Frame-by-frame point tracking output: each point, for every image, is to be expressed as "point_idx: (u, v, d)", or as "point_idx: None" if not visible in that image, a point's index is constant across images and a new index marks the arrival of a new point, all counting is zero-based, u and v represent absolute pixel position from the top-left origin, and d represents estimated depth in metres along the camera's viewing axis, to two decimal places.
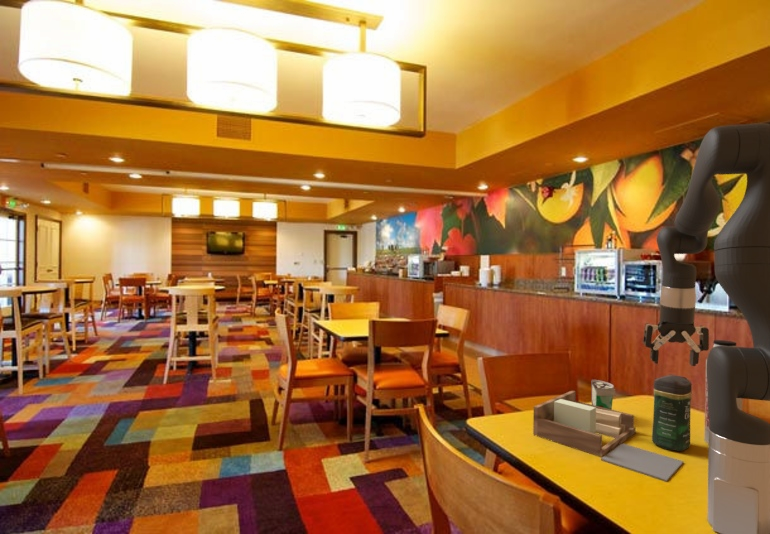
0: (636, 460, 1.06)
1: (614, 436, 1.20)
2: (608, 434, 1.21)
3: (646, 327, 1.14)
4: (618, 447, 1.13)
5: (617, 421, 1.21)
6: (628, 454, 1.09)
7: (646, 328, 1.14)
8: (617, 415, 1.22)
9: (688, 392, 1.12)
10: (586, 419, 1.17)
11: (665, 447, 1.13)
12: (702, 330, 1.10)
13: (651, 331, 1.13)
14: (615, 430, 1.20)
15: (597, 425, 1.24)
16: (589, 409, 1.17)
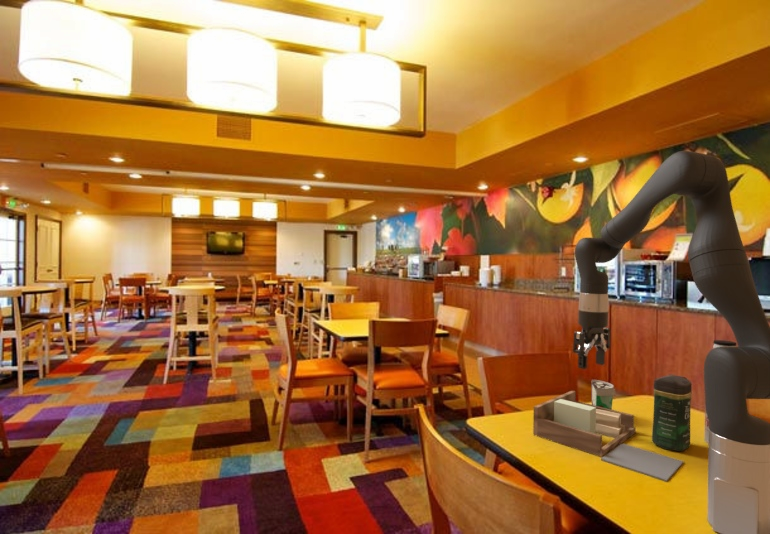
0: (636, 460, 1.06)
1: (614, 436, 1.20)
2: (608, 434, 1.21)
3: (578, 335, 1.17)
4: (618, 447, 1.13)
5: (617, 422, 1.21)
6: (628, 454, 1.09)
7: (579, 336, 1.17)
8: (617, 416, 1.22)
9: (688, 392, 1.12)
10: (586, 419, 1.17)
11: (665, 447, 1.13)
12: (606, 331, 1.23)
13: (584, 338, 1.17)
14: (615, 431, 1.20)
15: (597, 425, 1.23)
16: (589, 409, 1.17)
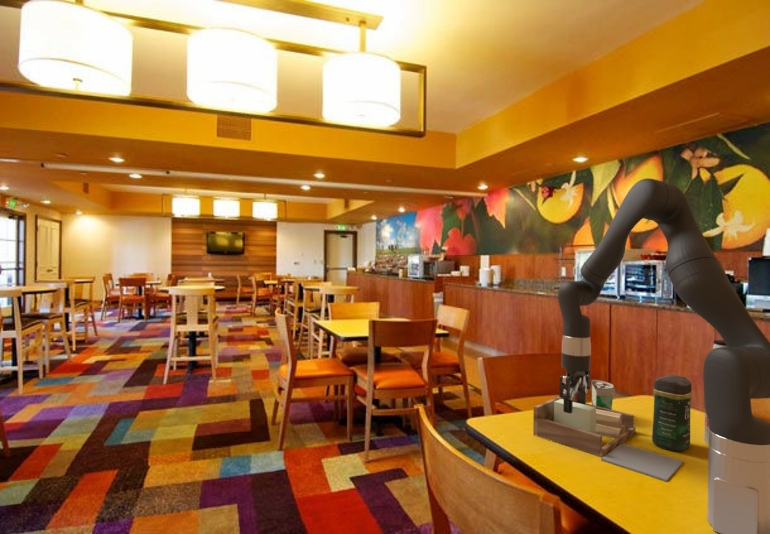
0: (636, 460, 1.06)
1: (614, 437, 1.20)
2: (608, 435, 1.21)
3: (565, 379, 1.16)
4: (618, 447, 1.13)
5: (618, 422, 1.20)
6: (628, 454, 1.09)
7: (565, 380, 1.16)
8: (617, 416, 1.21)
9: (688, 392, 1.12)
10: (586, 419, 1.17)
11: (665, 447, 1.13)
12: (586, 372, 1.24)
13: (570, 382, 1.16)
14: (616, 431, 1.20)
15: (597, 426, 1.23)
16: (589, 409, 1.17)
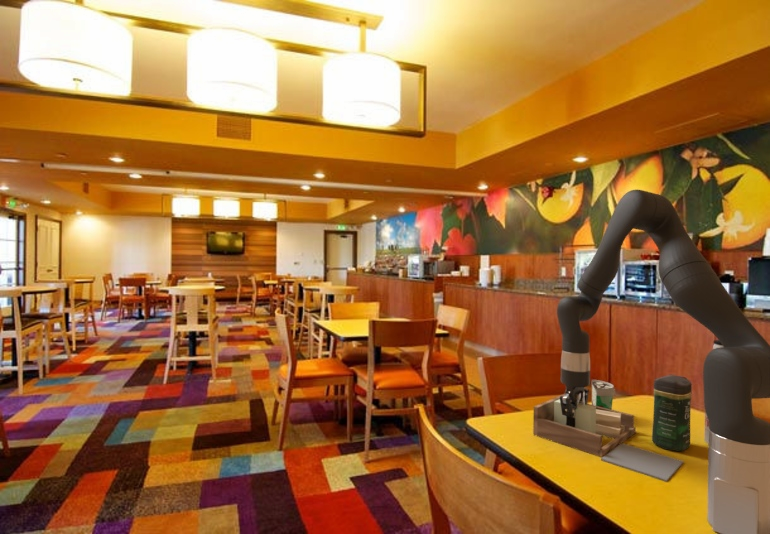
0: (636, 460, 1.06)
1: (614, 437, 1.20)
2: (608, 435, 1.21)
3: (565, 400, 1.16)
4: (618, 447, 1.13)
5: (618, 422, 1.21)
6: (628, 454, 1.09)
7: (565, 401, 1.16)
8: (618, 416, 1.22)
9: (688, 392, 1.12)
10: (586, 418, 1.17)
11: (665, 447, 1.13)
12: (586, 391, 1.24)
13: (570, 402, 1.16)
14: (616, 431, 1.19)
15: (597, 426, 1.23)
16: (589, 409, 1.17)
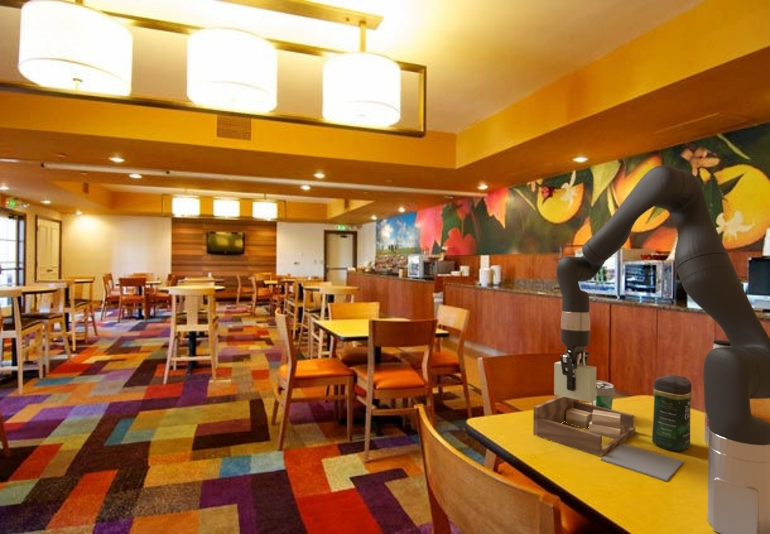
0: (636, 460, 1.06)
1: (615, 437, 1.19)
2: (608, 435, 1.21)
3: (565, 359, 1.16)
4: (618, 447, 1.13)
5: (618, 422, 1.20)
6: (628, 454, 1.09)
7: (565, 360, 1.16)
8: (618, 416, 1.21)
9: (688, 392, 1.12)
10: (587, 377, 1.16)
11: (665, 447, 1.13)
12: (586, 352, 1.24)
13: (570, 360, 1.16)
14: (616, 431, 1.19)
15: (597, 427, 1.23)
16: (589, 368, 1.17)
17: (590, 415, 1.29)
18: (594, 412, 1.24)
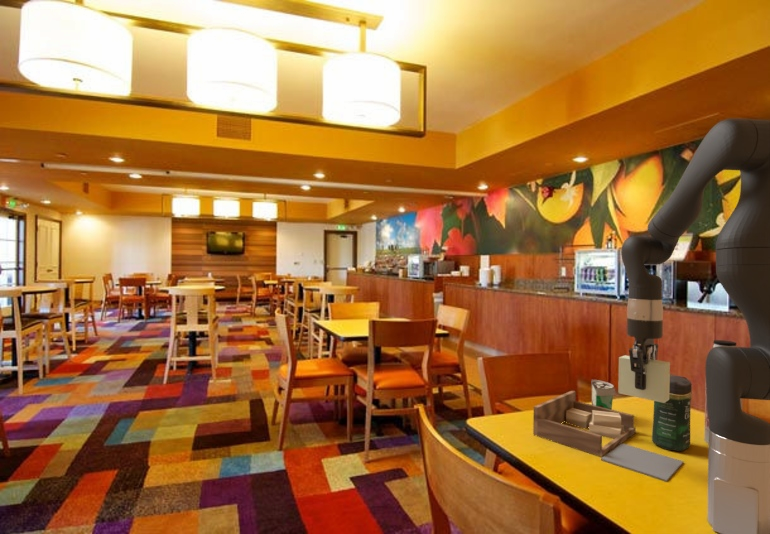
0: (636, 460, 1.06)
1: (615, 437, 1.19)
2: (609, 435, 1.20)
3: (635, 353, 1.01)
4: (618, 447, 1.13)
5: (619, 422, 1.21)
6: (628, 454, 1.09)
7: (636, 354, 1.01)
8: (618, 416, 1.22)
9: (688, 392, 1.12)
10: (660, 374, 1.01)
11: (665, 447, 1.13)
12: (654, 346, 1.09)
13: (642, 355, 1.01)
14: (616, 431, 1.19)
15: (597, 427, 1.22)
16: (663, 363, 1.02)
17: (590, 415, 1.28)
18: (594, 412, 1.24)
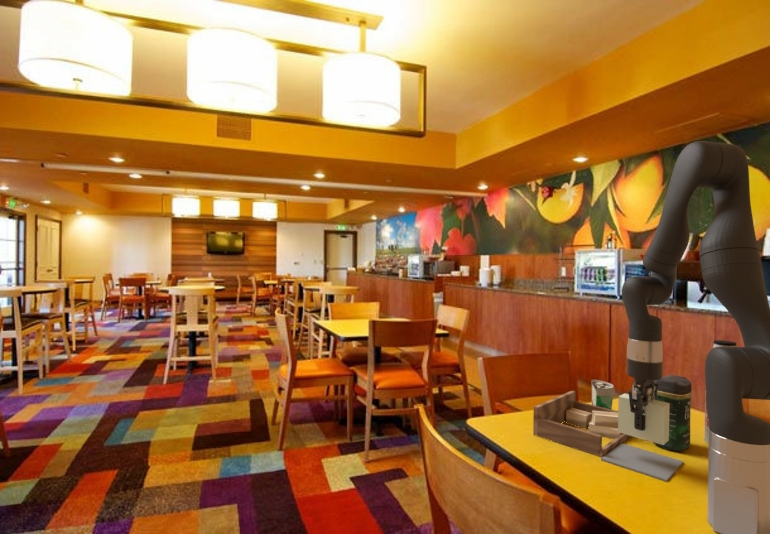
0: (636, 460, 1.06)
1: (615, 437, 1.19)
2: (609, 435, 1.20)
3: (635, 395, 1.01)
4: (618, 447, 1.13)
5: None
6: (628, 454, 1.09)
7: (636, 396, 1.01)
8: None
9: (688, 392, 1.12)
10: (660, 416, 1.01)
11: (665, 447, 1.13)
12: (654, 385, 1.09)
13: (641, 397, 1.01)
14: (616, 431, 1.19)
15: (597, 427, 1.22)
16: (663, 405, 1.02)
17: (590, 415, 1.28)
18: (595, 413, 1.24)
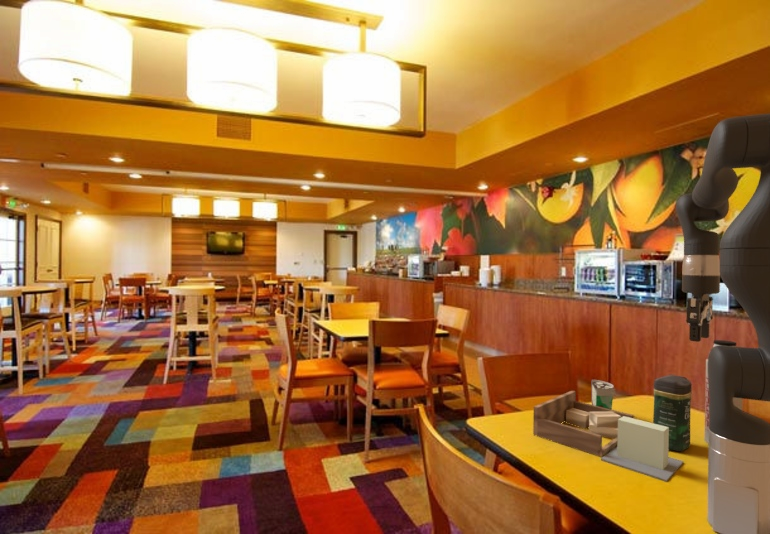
0: None
1: None
2: (609, 436, 1.20)
3: (694, 301, 1.02)
4: None
5: None
6: None
7: (694, 303, 1.01)
8: (616, 414, 1.23)
9: (688, 392, 1.12)
10: (659, 441, 1.01)
11: None
12: (709, 299, 1.10)
13: (700, 305, 1.01)
14: (617, 431, 1.19)
15: (597, 427, 1.22)
16: (662, 429, 1.02)
17: None
18: (595, 414, 1.23)
